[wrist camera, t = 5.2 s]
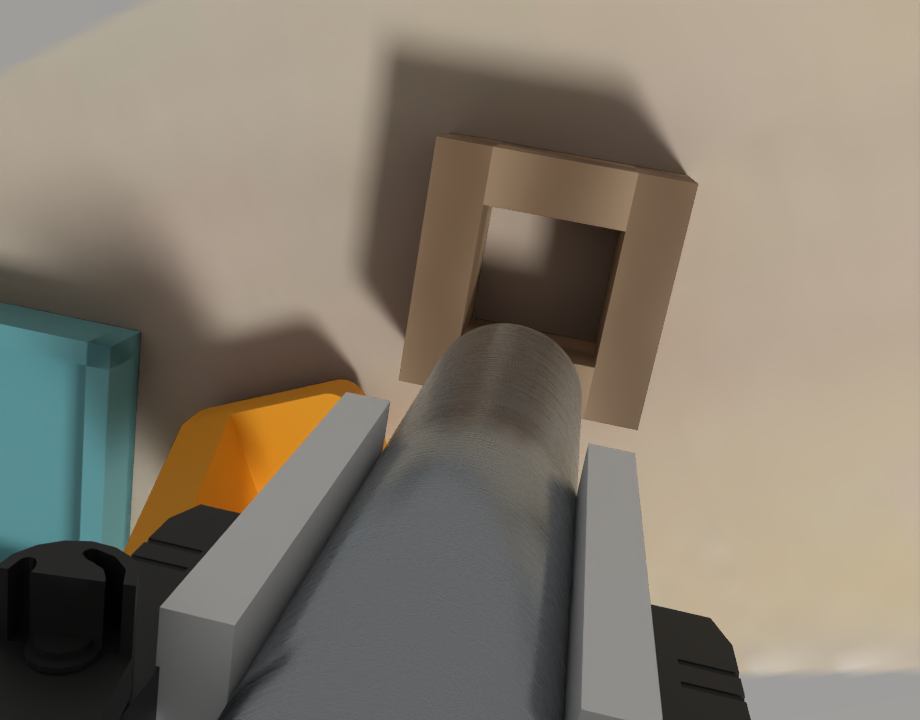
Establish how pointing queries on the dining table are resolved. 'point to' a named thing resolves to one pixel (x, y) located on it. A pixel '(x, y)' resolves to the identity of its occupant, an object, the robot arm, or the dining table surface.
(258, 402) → the bracket
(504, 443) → the pin
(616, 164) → the tan square sleeve
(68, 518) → the tray
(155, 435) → the dining table surface
